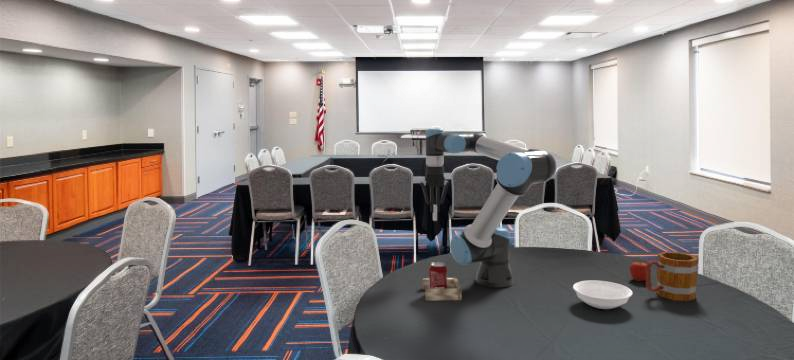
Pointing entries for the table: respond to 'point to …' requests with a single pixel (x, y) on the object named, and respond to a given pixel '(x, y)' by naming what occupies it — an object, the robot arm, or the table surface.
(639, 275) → the apple
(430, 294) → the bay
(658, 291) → the mug
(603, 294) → the bowl
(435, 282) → the soda can
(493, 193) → the robot arm
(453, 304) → the table surface
